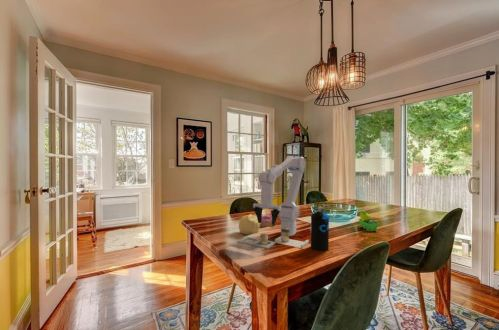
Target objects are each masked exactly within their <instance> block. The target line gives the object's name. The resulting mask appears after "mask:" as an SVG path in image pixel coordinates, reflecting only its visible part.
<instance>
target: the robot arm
mask: <svg viewBox="0 0 499 330" xmlns="http://www.w3.org/2000/svg"><path fill="white" fill-rule="evenodd" d="M306 163H307V162H306V160H305V157H303V156H288V157H286V158H285V159H284V160H283V162H282V163H280V164H273V165H272V167H270V168H267V170H266V171H261V172H260V174H259V176H258V181H259V182H260V183H259V185H260V186H261V187H260V188H261V189H260V203H258V202H257V203H256V202H254V203H253V204H252V208H253V211H254V214H255V216H257V219H258V223H261V221H262V216H263V214H262V213H263V210H264V209H265V210H270V213H271V216H272V225H274V226H275V225H276V222H277V218H279V220H280V229H281V228H289V237H292V236H294V235H295V234H297V221H296V220H297V219H298V217H299V207H298V205H296V201H297V198H298V194H299V190H300V186H301V182H302V178H303V174H304V172H305V169H306ZM285 170H288V171H289V173H290V174H292V177H291V180H290V183H289V186H288V191H287V194H286V198H285V200H284V201H283V202H282V203H281V204H280V205H275V204H273V202H274V197H273V196H274V194H273V193H274V184H275V182H276V179H277V178H279V177H280V176H281V175H283V173H284V171H285ZM280 234H281V235H282V232H281V231H280Z"/></svg>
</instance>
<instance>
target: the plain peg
mask: <svg viewBox="0 0 499 330" xmlns="http://www.w3.org/2000/svg"><path fill="white" fill-rule="evenodd" d="M281 232H282V234H281V236H282V237H281V241H282V242H289V239H290V236H289V228H281V227H280V233H281Z"/></svg>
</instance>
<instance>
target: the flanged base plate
mask: <svg viewBox="0 0 499 330" xmlns="http://www.w3.org/2000/svg"><path fill="white" fill-rule="evenodd" d="M281 237H282V235H280V236H278V237H277V238H275V239H274V242H276V244H278V245H279V244H280V245H286V246H289V247H290V246H291V247H295V248H300V249H304V248H305V247H306V246H308V244H310V240H309V239H306V240H304V241H302V240H296V239H291V238H289V242H282V241H281Z"/></svg>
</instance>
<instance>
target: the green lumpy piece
mask: <svg viewBox="0 0 499 330" xmlns="http://www.w3.org/2000/svg"><path fill="white" fill-rule="evenodd" d="M359 216H360V218H358V220H359V224H360V228H362V227H363V228H362V229H363V230H365V229H366V230H365V231H366V232H376V231H377V229H378V227H379V224H380V223H379V222H378V221H375V220H373V219H371V215H370V214H369V213H367V212H366V210H361V211H360V213H359Z"/></svg>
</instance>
